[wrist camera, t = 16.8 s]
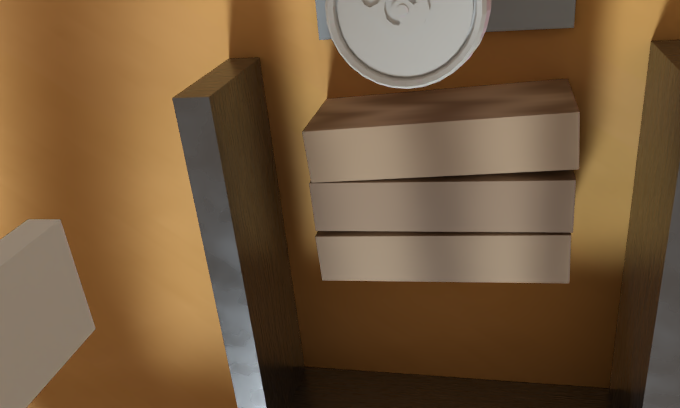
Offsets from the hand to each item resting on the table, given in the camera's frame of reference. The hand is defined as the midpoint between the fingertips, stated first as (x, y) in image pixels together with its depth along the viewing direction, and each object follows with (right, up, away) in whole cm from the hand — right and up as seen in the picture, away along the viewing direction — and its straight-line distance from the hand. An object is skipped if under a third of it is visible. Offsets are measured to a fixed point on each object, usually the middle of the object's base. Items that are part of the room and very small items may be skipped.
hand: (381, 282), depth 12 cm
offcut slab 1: (+5, +7, +26) cm, 28 cm away
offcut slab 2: (+6, +4, +28) cm, 29 cm away
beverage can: (+5, +15, +22) cm, 27 cm away
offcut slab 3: (+6, +1, +29) cm, 30 cm away
